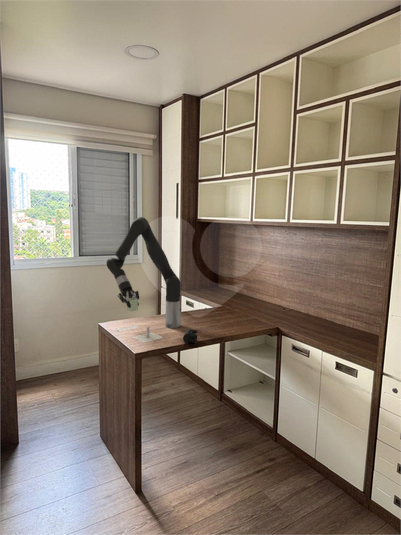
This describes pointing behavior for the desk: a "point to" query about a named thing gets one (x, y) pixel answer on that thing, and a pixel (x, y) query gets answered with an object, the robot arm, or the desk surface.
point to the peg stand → (147, 336)
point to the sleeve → (133, 304)
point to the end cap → (190, 337)
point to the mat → (127, 328)
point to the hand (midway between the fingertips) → (133, 306)
